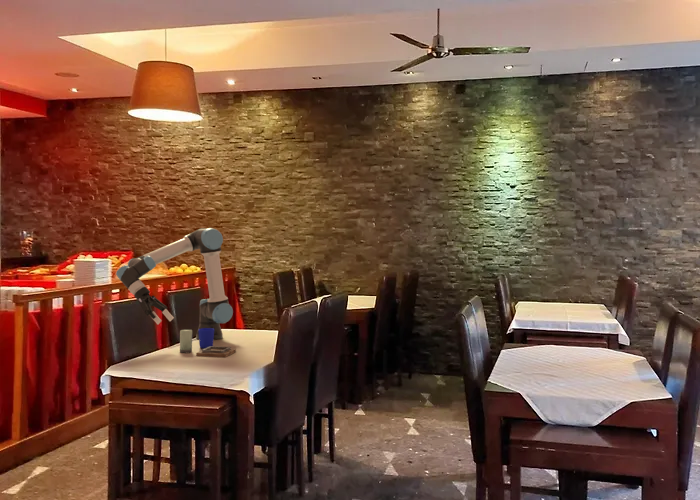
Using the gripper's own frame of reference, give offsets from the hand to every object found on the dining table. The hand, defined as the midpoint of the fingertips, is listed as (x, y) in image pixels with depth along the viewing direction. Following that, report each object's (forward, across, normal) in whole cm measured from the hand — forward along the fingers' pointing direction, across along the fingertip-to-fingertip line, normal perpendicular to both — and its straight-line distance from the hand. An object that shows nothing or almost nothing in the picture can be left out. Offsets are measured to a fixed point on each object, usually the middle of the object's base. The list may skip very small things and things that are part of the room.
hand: (166, 321), depth 313 cm
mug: (+22, -16, +1) cm, 27 cm away
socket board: (+31, +1, +9) cm, 32 cm away
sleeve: (+19, 0, -3) cm, 19 cm away
